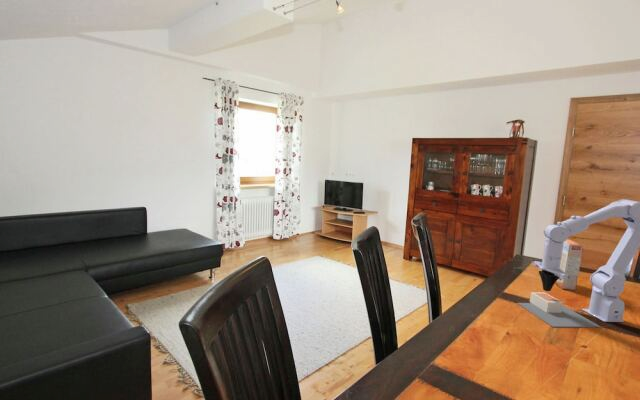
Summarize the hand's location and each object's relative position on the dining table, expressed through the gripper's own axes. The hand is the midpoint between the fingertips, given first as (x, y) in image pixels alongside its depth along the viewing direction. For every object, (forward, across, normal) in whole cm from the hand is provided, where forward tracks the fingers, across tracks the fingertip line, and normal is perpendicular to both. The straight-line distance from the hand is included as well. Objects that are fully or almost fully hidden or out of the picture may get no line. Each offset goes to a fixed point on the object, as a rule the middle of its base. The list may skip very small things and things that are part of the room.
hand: (546, 290), depth 130 cm
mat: (+7, +6, 0) cm, 9 cm away
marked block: (+5, -4, 0) cm, 6 cm away
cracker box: (+7, -24, +28) cm, 38 cm away
